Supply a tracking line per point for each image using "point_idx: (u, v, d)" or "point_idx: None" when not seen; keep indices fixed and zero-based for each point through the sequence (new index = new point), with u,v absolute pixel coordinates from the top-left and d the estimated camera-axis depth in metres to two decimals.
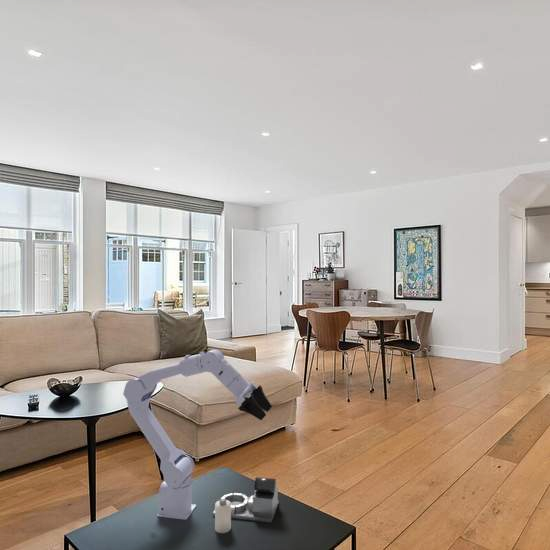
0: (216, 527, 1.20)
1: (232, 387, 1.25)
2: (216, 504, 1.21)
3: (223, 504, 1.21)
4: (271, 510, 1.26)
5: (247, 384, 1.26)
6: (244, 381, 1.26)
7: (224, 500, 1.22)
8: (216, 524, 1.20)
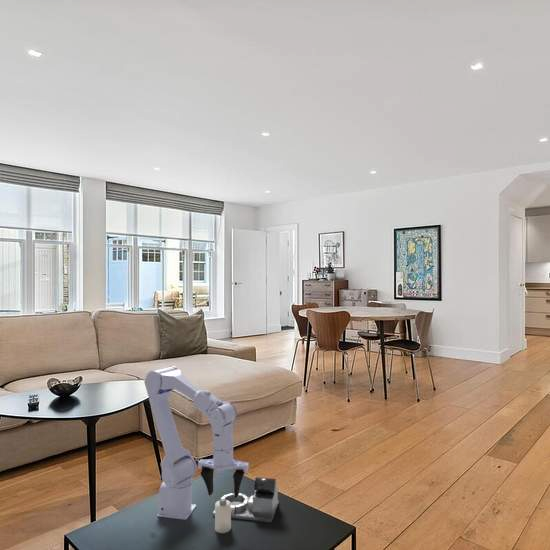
0: (216, 527, 1.20)
1: None
2: (216, 504, 1.21)
3: (223, 504, 1.21)
4: (271, 510, 1.26)
5: (216, 463, 1.20)
6: (217, 459, 1.20)
7: (224, 500, 1.22)
8: (216, 524, 1.20)
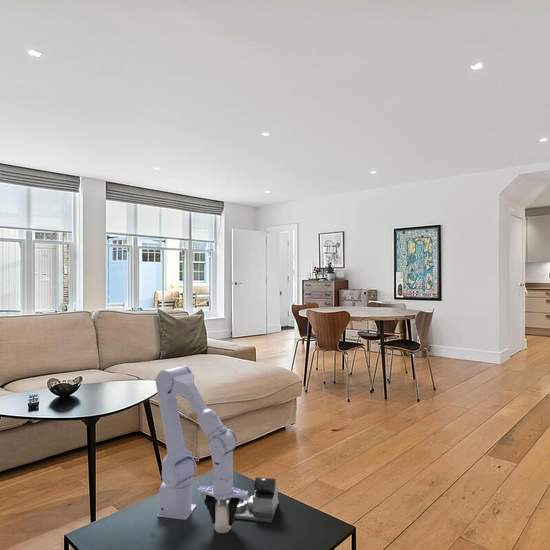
0: (216, 527, 1.20)
1: None
2: (216, 504, 1.21)
3: (223, 504, 1.21)
4: (271, 510, 1.26)
5: (216, 492, 1.19)
6: (216, 487, 1.19)
7: (224, 500, 1.22)
8: (216, 524, 1.20)
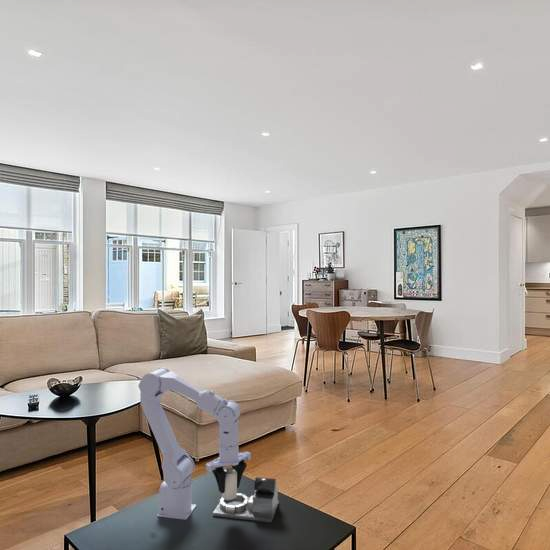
0: (227, 495, 1.25)
1: (220, 449, 1.26)
2: None
3: (232, 472, 1.27)
4: (271, 510, 1.26)
5: (230, 459, 1.25)
6: (230, 455, 1.25)
7: (231, 468, 1.27)
8: (227, 492, 1.25)
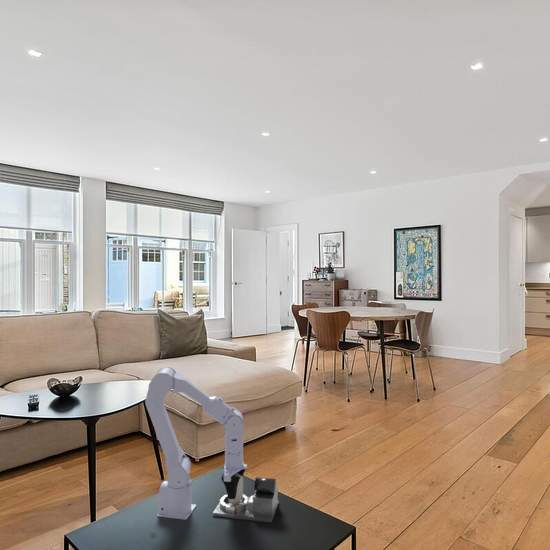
0: (238, 500, 1.31)
1: (229, 457, 1.30)
2: None
3: (238, 476, 1.33)
4: (271, 510, 1.26)
5: (241, 464, 1.31)
6: (241, 460, 1.31)
7: (236, 473, 1.33)
8: (238, 497, 1.31)
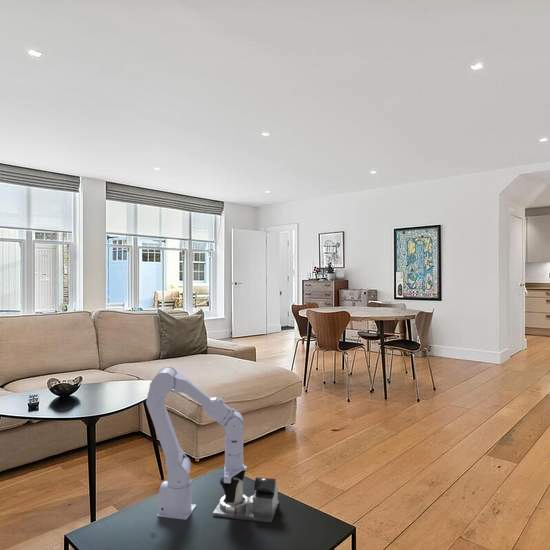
0: (238, 504, 1.31)
1: (229, 459, 1.30)
2: None
3: None
4: (271, 510, 1.26)
5: (241, 466, 1.31)
6: (241, 462, 1.31)
7: (236, 478, 1.33)
8: (238, 501, 1.31)
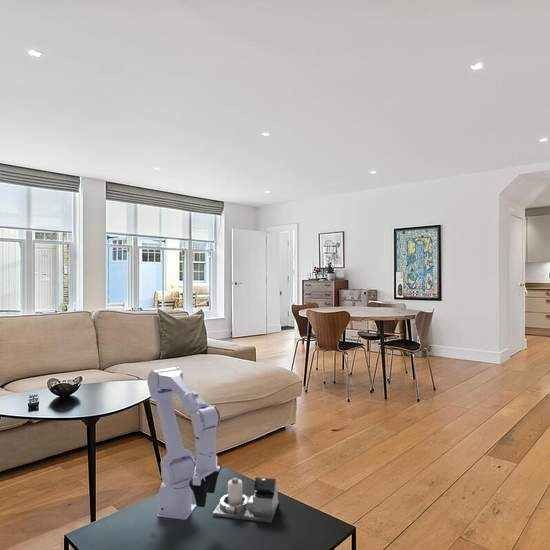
0: (238, 504, 1.31)
1: (200, 458, 1.17)
2: (234, 485, 1.31)
3: (238, 481, 1.33)
4: (271, 510, 1.26)
5: (213, 466, 1.18)
6: (213, 461, 1.18)
7: (235, 478, 1.33)
8: (238, 501, 1.31)
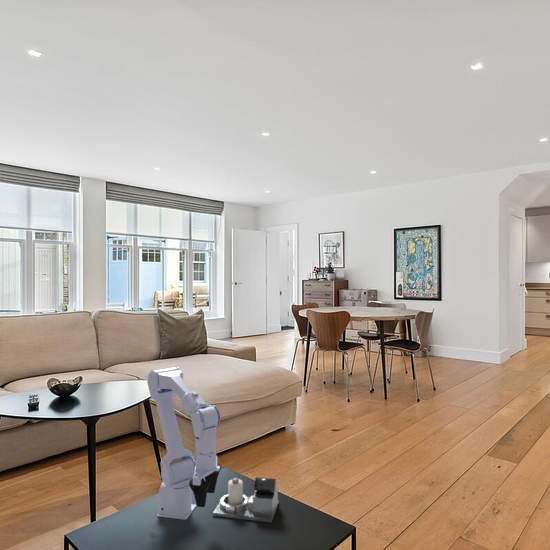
0: (238, 504, 1.31)
1: (200, 458, 1.17)
2: (235, 485, 1.31)
3: (238, 481, 1.33)
4: (271, 510, 1.26)
5: (213, 466, 1.18)
6: (213, 461, 1.18)
7: (235, 478, 1.33)
8: (238, 501, 1.31)
